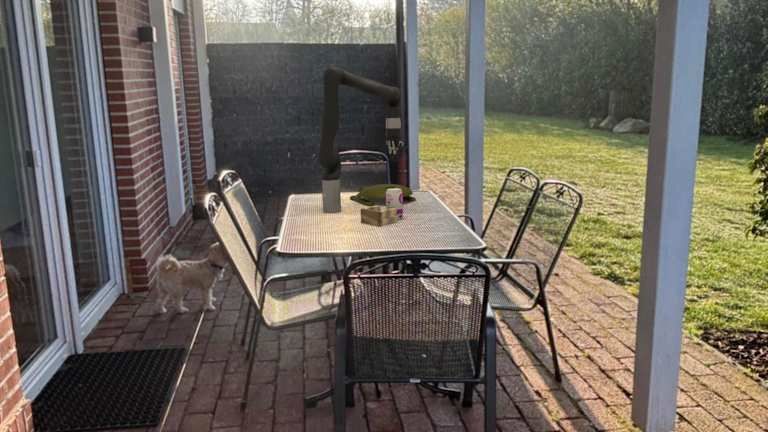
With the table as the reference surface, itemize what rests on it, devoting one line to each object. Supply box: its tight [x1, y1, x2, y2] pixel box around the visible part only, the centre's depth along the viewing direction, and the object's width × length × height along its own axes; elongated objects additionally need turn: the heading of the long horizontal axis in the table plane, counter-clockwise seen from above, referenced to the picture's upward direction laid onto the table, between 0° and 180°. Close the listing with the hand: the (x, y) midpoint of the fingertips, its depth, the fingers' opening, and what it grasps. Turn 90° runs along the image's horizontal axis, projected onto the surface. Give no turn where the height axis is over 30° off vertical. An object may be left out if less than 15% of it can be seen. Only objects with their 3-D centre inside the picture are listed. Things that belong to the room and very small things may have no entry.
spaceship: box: [349, 183, 417, 207], centre depth 374 cm, size 35×31×10 cm
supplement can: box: [385, 188, 404, 221], centre depth 323 cm, size 8×8×15 cm
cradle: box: [360, 205, 398, 228], centre depth 316 cm, size 12×13×7 cm
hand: (394, 161), depth 333 cm, fingers closed
